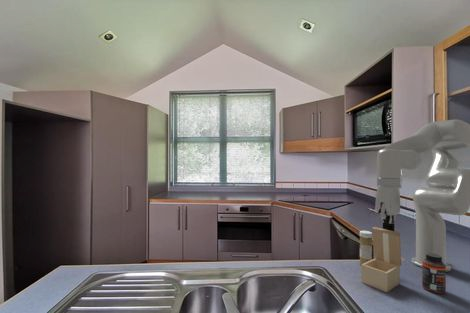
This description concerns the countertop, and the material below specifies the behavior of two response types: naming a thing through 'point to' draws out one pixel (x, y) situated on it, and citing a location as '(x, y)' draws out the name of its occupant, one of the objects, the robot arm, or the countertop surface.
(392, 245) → the lid
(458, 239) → the countertop surface
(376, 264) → the box
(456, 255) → the countertop surface
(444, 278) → the supplement bottle
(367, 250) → the sprinkles bottle
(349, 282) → the countertop surface
